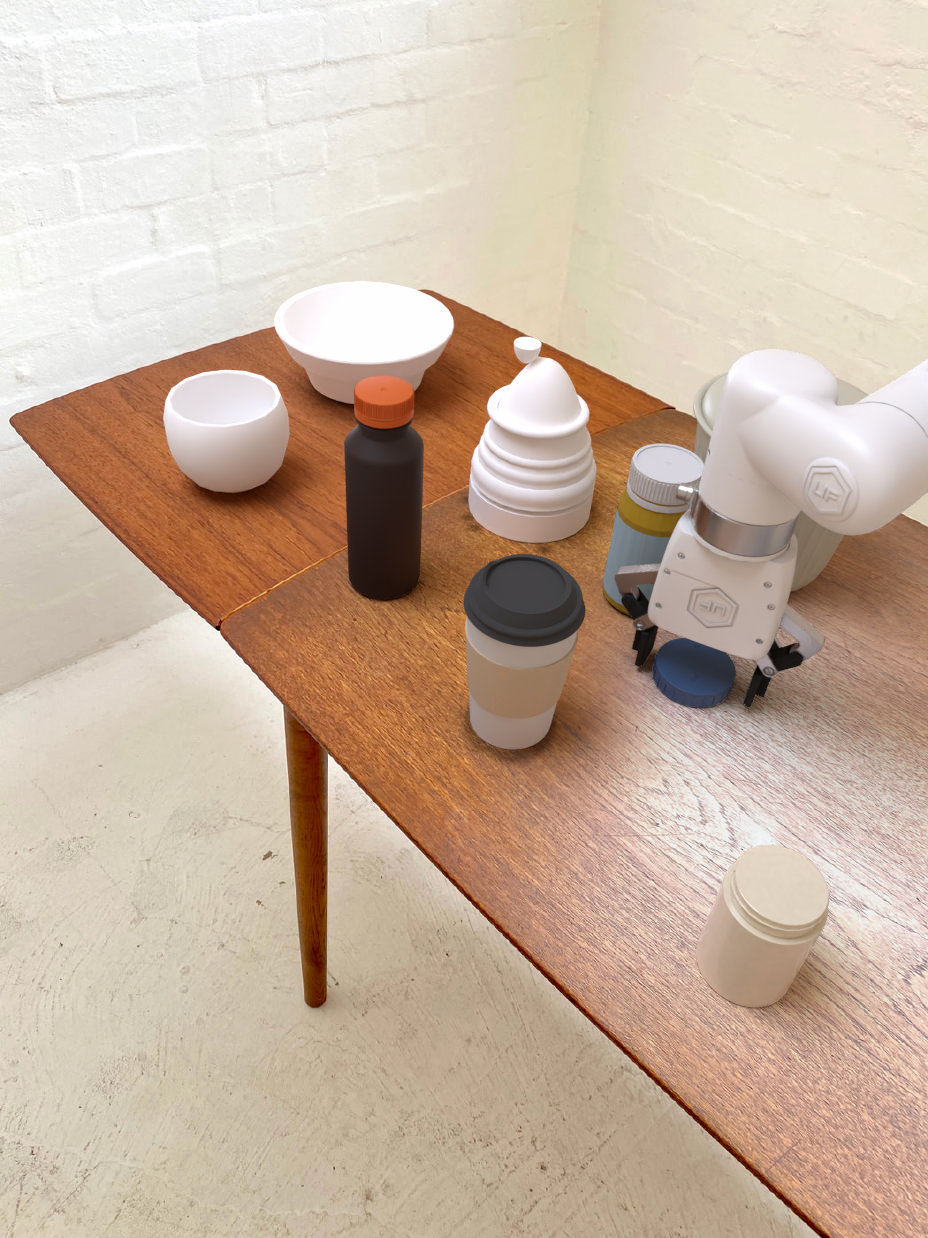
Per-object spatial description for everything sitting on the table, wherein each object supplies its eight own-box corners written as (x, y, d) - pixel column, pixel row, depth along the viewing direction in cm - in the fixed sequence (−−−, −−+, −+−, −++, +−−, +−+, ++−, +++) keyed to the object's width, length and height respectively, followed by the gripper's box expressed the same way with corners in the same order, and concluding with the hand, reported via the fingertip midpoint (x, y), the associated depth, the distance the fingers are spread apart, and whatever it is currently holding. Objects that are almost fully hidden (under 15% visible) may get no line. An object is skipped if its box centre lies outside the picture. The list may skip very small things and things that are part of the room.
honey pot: (452, 526, 100) (461, 365, 87) (487, 460, 109) (500, 306, 97) (575, 554, 97) (602, 393, 85) (601, 485, 106) (628, 330, 94)
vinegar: (388, 611, 90) (388, 420, 76) (333, 580, 92) (324, 390, 79) (434, 575, 94) (442, 388, 80) (380, 546, 97) (379, 361, 83)
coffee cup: (574, 691, 83) (599, 554, 73) (552, 772, 77) (577, 632, 67) (472, 667, 85) (483, 529, 75) (442, 744, 78) (450, 604, 68)
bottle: (594, 610, 91) (620, 476, 81) (608, 566, 96) (634, 434, 86) (669, 628, 90) (705, 494, 80) (679, 582, 95) (714, 450, 85)
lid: (671, 640, 89) (675, 626, 88) (744, 672, 86) (748, 658, 85) (638, 685, 84) (641, 671, 83) (713, 721, 82) (718, 707, 81)
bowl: (350, 447, 109) (348, 381, 104) (245, 373, 120) (238, 309, 115) (486, 389, 120) (491, 327, 115) (379, 326, 131) (378, 266, 126)
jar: (801, 944, 67) (844, 865, 61) (779, 1025, 63) (824, 949, 56) (710, 904, 69) (743, 823, 62) (683, 980, 65) (716, 902, 58)
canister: (826, 645, 89) (909, 448, 75) (637, 584, 94) (680, 388, 80) (855, 538, 102) (931, 351, 87) (686, 489, 107) (732, 305, 92)
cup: (312, 492, 103) (307, 410, 96) (199, 525, 97) (186, 442, 91) (264, 435, 110) (256, 356, 104) (157, 464, 105) (142, 383, 98)
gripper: (617, 506, 73) (587, 667, 85) (850, 582, 68) (784, 743, 80) (650, 459, 79) (617, 617, 90) (870, 526, 73) (805, 685, 85)
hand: (696, 676), depth 85 cm, fingers open, 9 cm apart
